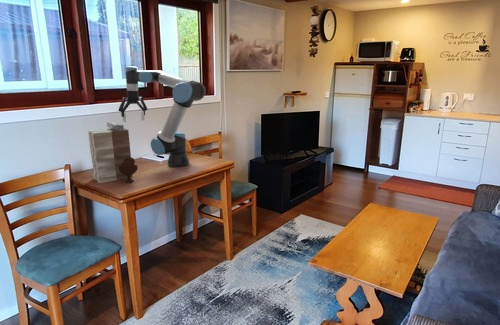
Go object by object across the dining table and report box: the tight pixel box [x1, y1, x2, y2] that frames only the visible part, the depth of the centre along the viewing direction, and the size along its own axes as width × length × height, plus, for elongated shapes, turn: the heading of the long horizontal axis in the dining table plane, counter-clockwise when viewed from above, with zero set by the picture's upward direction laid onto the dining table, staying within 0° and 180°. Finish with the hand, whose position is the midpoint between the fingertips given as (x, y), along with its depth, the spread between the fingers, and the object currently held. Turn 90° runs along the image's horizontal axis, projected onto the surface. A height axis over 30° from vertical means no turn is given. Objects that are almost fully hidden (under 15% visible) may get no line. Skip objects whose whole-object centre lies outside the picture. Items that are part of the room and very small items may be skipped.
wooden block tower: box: [87, 127, 134, 184], centre depth 210 cm, size 12×20×30 cm, turn 128°
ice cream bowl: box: [119, 156, 138, 184], centre depth 205 cm, size 11×11×15 cm
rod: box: [106, 121, 125, 131], centre depth 213 cm, size 20×5×3 cm, turn 38°
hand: (133, 120), depth 239 cm, fingers open, 13 cm apart
